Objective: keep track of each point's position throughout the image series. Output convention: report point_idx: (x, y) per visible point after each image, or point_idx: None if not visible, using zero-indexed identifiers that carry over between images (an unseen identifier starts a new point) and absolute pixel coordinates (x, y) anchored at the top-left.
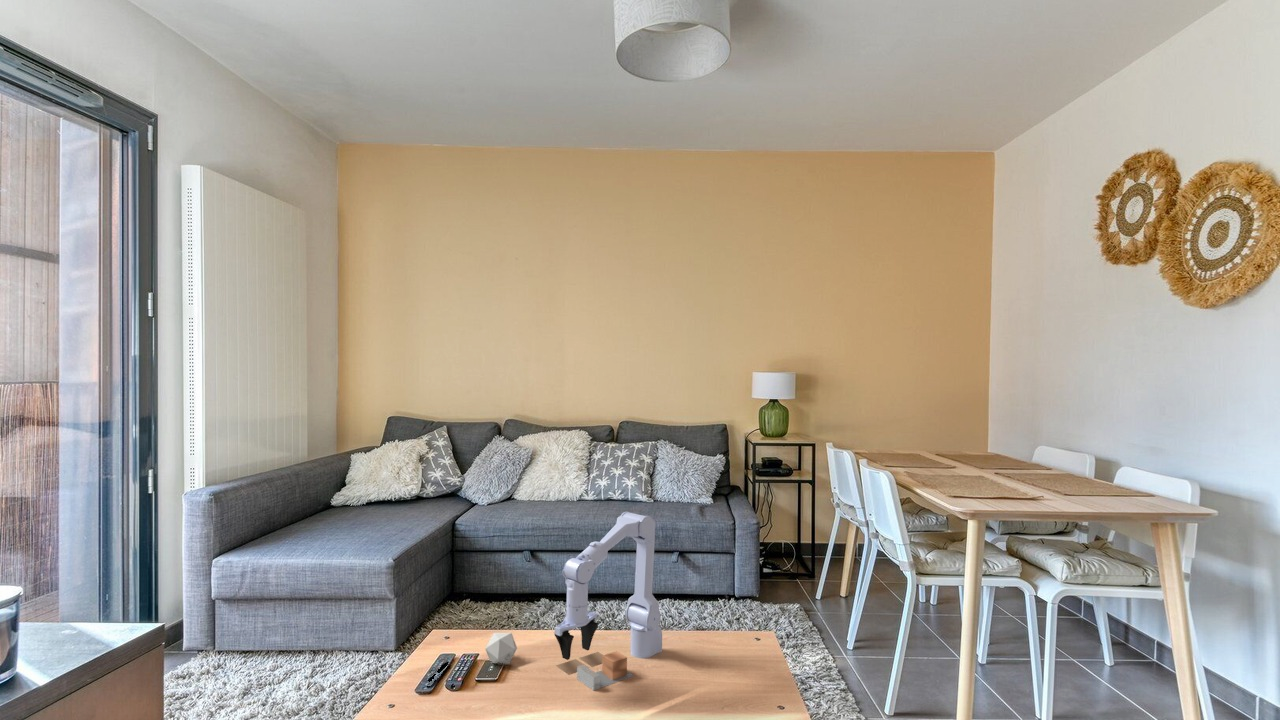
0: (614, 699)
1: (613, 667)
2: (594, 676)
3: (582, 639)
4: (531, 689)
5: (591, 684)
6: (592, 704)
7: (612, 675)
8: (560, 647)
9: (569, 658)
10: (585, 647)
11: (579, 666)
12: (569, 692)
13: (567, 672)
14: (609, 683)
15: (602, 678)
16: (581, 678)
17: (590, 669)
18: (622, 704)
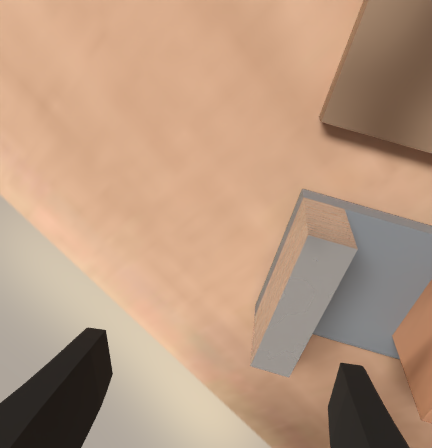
0: (274, 375)
1: (415, 391)
2: (261, 365)
3: (360, 444)
4: (75, 27)
5: (258, 320)
6: (192, 336)
7: (399, 352)
8: (10, 399)
9: (107, 380)
10: (335, 406)
11: (314, 248)
12: (200, 218)
13: (344, 93)
14: (355, 337)
15: (384, 294)
16: (287, 246)
17: (319, 316)
18: (262, 404)
